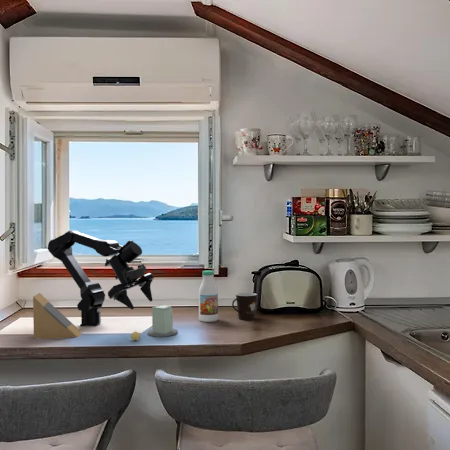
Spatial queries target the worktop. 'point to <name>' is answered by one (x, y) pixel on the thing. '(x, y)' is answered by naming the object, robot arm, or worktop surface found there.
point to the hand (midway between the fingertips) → (142, 305)
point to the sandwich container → (51, 321)
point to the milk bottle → (208, 298)
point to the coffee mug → (245, 305)
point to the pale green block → (162, 319)
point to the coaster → (162, 334)
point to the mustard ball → (135, 336)
